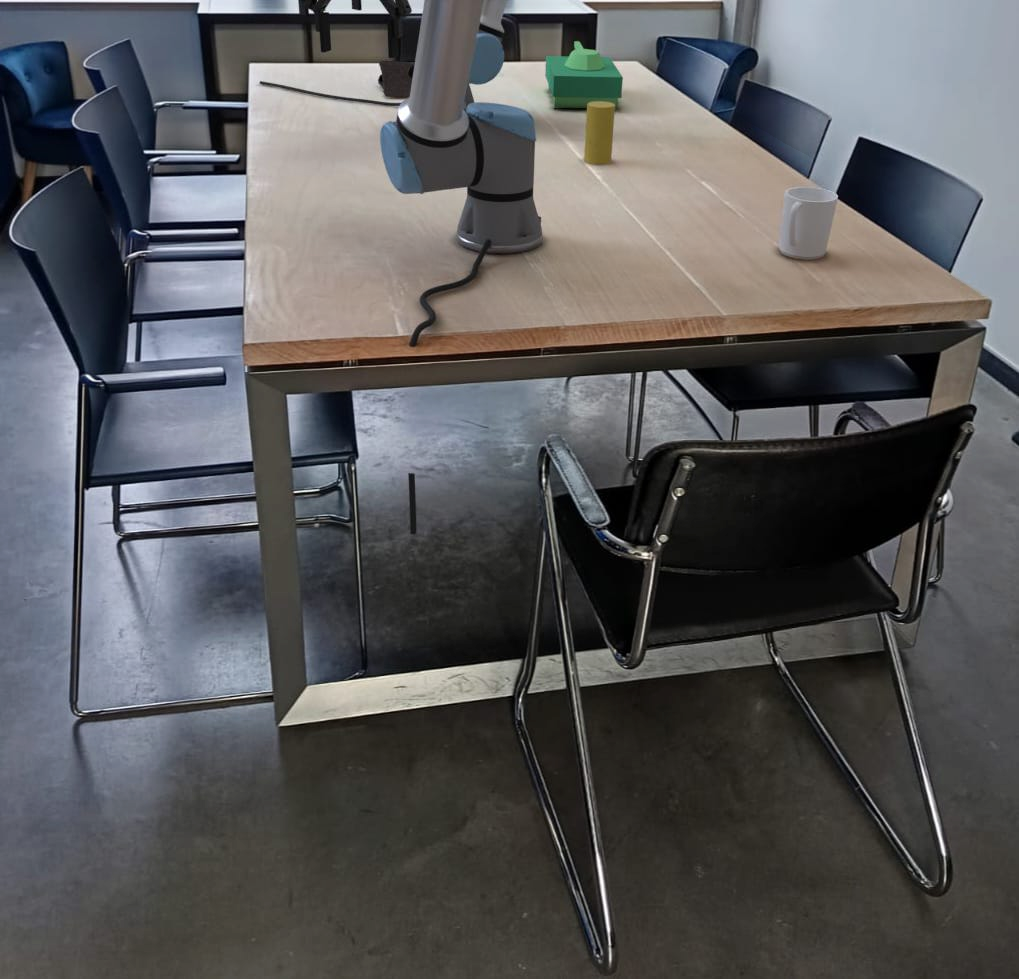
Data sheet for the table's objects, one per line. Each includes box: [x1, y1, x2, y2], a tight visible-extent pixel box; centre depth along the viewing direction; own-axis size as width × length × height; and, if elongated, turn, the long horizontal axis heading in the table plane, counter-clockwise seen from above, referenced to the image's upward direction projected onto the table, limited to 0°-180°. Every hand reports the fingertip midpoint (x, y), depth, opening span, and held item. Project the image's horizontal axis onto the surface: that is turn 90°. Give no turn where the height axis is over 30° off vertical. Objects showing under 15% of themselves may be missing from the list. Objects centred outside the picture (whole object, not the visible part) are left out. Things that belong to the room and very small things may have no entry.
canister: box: [583, 101, 616, 166], centre depth 240 cm, size 6×6×12 cm
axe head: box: [377, 59, 415, 99], centre depth 299 cm, size 18×8×15 cm
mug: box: [778, 186, 839, 261], centre depth 190 cm, size 11×9×10 cm
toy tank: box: [544, 40, 624, 109], centre depth 295 cm, size 18×12×35 cm
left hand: (330, 12), depth 239 cm, fingers open, 13 cm apart
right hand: (359, 54), depth 200 cm, fingers open, 13 cm apart
